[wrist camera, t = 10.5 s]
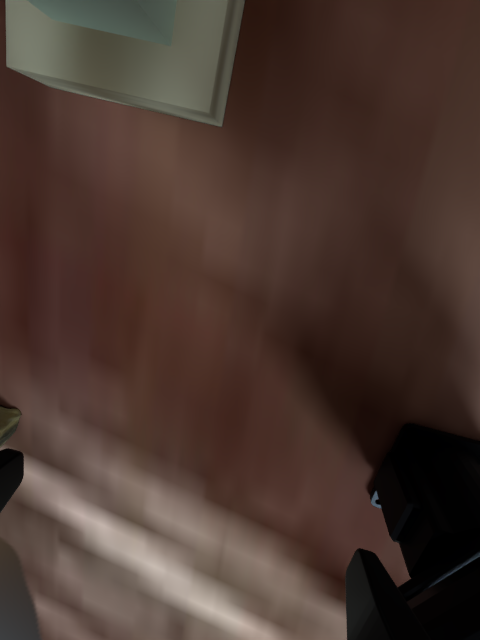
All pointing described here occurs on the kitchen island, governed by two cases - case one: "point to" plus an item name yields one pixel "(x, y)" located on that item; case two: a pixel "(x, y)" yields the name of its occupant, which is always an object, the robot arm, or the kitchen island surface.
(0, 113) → the kitchen island surface
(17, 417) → the rock
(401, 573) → the kitchen island surface
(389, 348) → the kitchen island surface
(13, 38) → the plinth
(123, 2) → the block
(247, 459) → the kitchen island surface
